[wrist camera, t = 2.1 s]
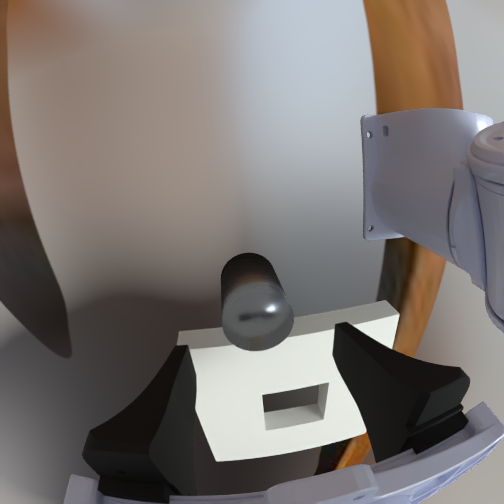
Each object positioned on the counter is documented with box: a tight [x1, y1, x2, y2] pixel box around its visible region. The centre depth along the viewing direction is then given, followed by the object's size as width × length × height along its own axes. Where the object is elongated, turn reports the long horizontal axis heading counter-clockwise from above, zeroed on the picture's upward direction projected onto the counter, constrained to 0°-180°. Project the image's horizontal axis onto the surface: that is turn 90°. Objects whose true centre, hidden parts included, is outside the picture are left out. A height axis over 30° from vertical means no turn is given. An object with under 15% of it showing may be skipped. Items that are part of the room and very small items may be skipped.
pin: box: [221, 253, 294, 351], centre depth 18 cm, size 4×4×6 cm
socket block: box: [177, 300, 399, 461], centre depth 24 cm, size 18×18×2 cm
